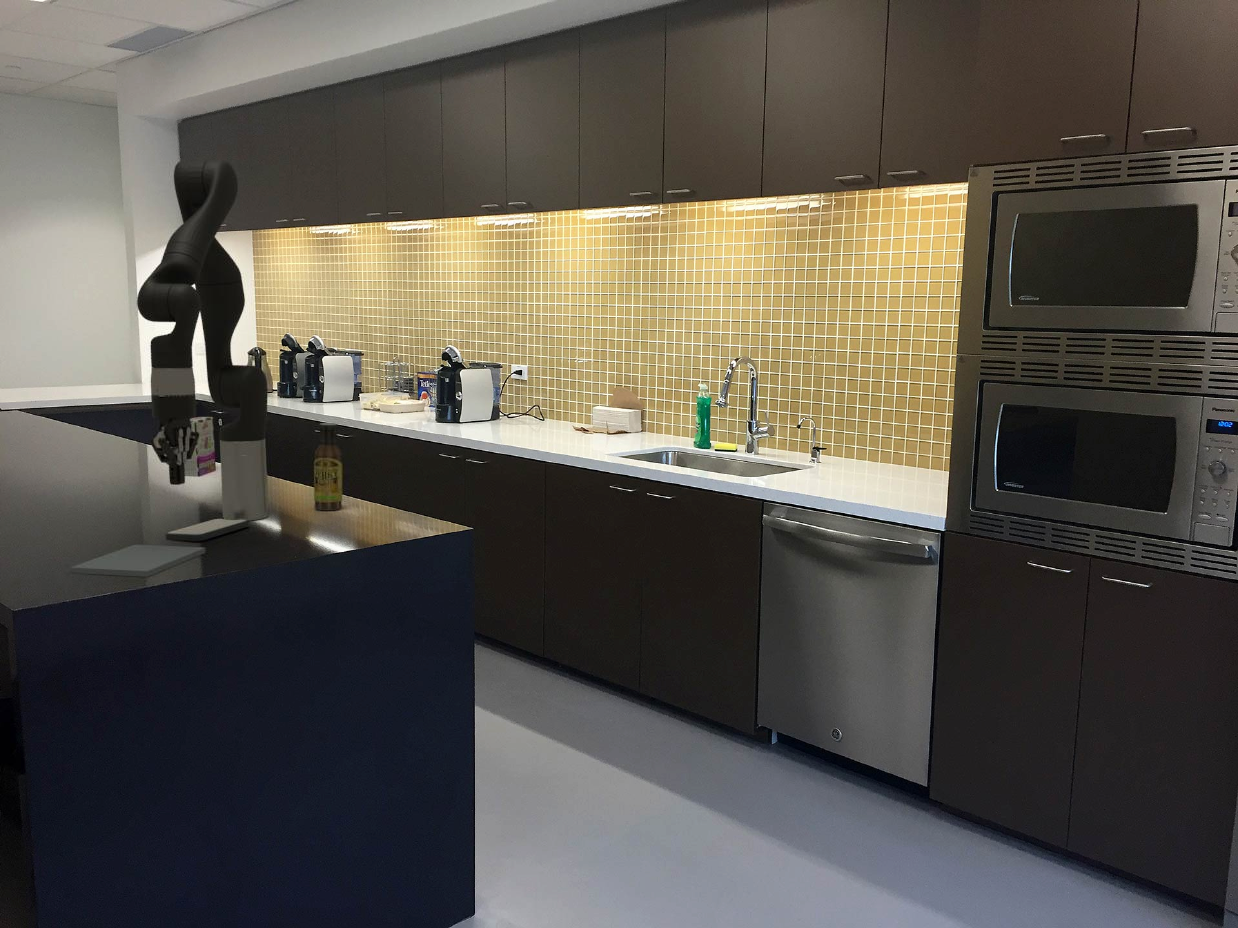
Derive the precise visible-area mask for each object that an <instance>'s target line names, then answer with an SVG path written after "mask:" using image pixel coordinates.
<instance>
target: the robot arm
mask: <svg viewBox="0 0 1238 928" xmlns="http://www.w3.org/2000/svg"><path fill="white" fill-rule="evenodd" d="M238 183H239V182H238V177H237V173H236V171H235V168H233V166H232V165H231V163H229V162H228V161H226V160H224V159H223V160H222V159H195V160H194V159H190V160H189V159H188V160H187V159H186V160H180V161H178V162H177V163H176V164H175V166H174V169H173V184H174V191H175V195H176V199H177V202H178V206H179V211H180V215H181V219H182V224H181V225H180V226H179V227H177V229H176V230H175V231H174V232H173V233H172V235H171V236H170V238H168V239H169V240H168V241H167V244H166V246H165V249H164V253H163V255H162V257H161V261H160V263H159V264H158V265H157V266H156V268H155V269H153V271H152V272H151V274H149V276H148V277H147V278H146V280H145V281H144V282H143V284H141V287H140V289H139V291H138V293H137V300H136V305H137V309H138V311H139V314H140V315H141V316H142V318H144V319H145V320H147V321H148V322H152V323H153V322H154V323H175V324H174V327H173V329H172V331H171V332H170V333H167V334H161V335H158V336H155V337H152V339H151V341H150V365H151V371H150V372H151V374H150V398H151V416H152V417H153V418H154V419H157V420H158V424H157V435H156V436H155V437H150V439H149V443H150V445H151V447H152V449H153V451H154V452H155V454H156V455H157V456H156V457H157V458H158V460H159V461H160V463H164V464H166V465H168V471H169V473H168V474H169V475H168V478H169V484H170V485H172V486H174V485H175V486H179V485H184V484H185V483H186V476H185V466H184V464H186V462H187V460H188V459H191V458H192V455H193V452H194V450H195V447H196V444H197V441H198V438H199V432H193V430H192V429H191V428H192V425H191V422H190V419H191V418H196V417H197V416H196V415H197V406H196V405H197V401H196V398H197V397H196V380H195V376H194V368H193V365H194V363H193V342H194V336H195V332H196V328H197V323H198V320H199V316H200V318H201V325H202V331H203V332H202V333H203V340H204V347H205V348H204V349H205V364H206V377H207V385H208V391H209V394H210V398H211V400H212V401H213V403H214V404H215V405H216V406H218V407H220V408H228V409H229V408H230V409H233V408H234V409H239V416H238V418H237V419H235V420H234V421H232V422H230V423H227V424H224V425H222V426H221V427H220V428H219V446H220V447H219V452H220V453H219V454H220V471H221V472H220V473H221V474H220V475H221V498H222V499H221V500H222V501H221V503H222V519H223V518H224V519H240V520H249V521H256V520H262V519H265V518H268V516H269V512H270V511H269V489H268V473H267V472H268V471H267V452H266V451H267V450H266V429H267V424H268V399H269V398H268V396H269V395H268V393H269V392H268V382H267V377H266V373H265V372H264V371H263V369H262V368H261V367H260V366H257V365H246V364H245V365H243V364H241V365H240V364H233V360H232V350H231V349H232V347H231V344H232V339H233V334H234V332H235V330H236V328H237V326H238V324H239V321H240V319H241V317H242V314H243V312H244V309H245V304H246V298H245V297H246V296H245V290H244V283H243V277H242V273H241V270H240V268H239V267H238V265H237V263H236V261H235V260H234V259H233V258H232V257H231V255H230V254H229V253H228V251H226V249H225V248H224V247H223V245H222V244H221V243H220V242H219V240H218V239H217V238H216V235H217V233H219V231H220V228H221V227H222V225H223V224H224V221H225V220H226V218H227V217H228V214H229V213H230V211H231V209H232V207H233V206H234V203H235V201H236V199H237V196H238V188H239V184H238ZM194 286H195V287H194Z"/></svg>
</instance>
